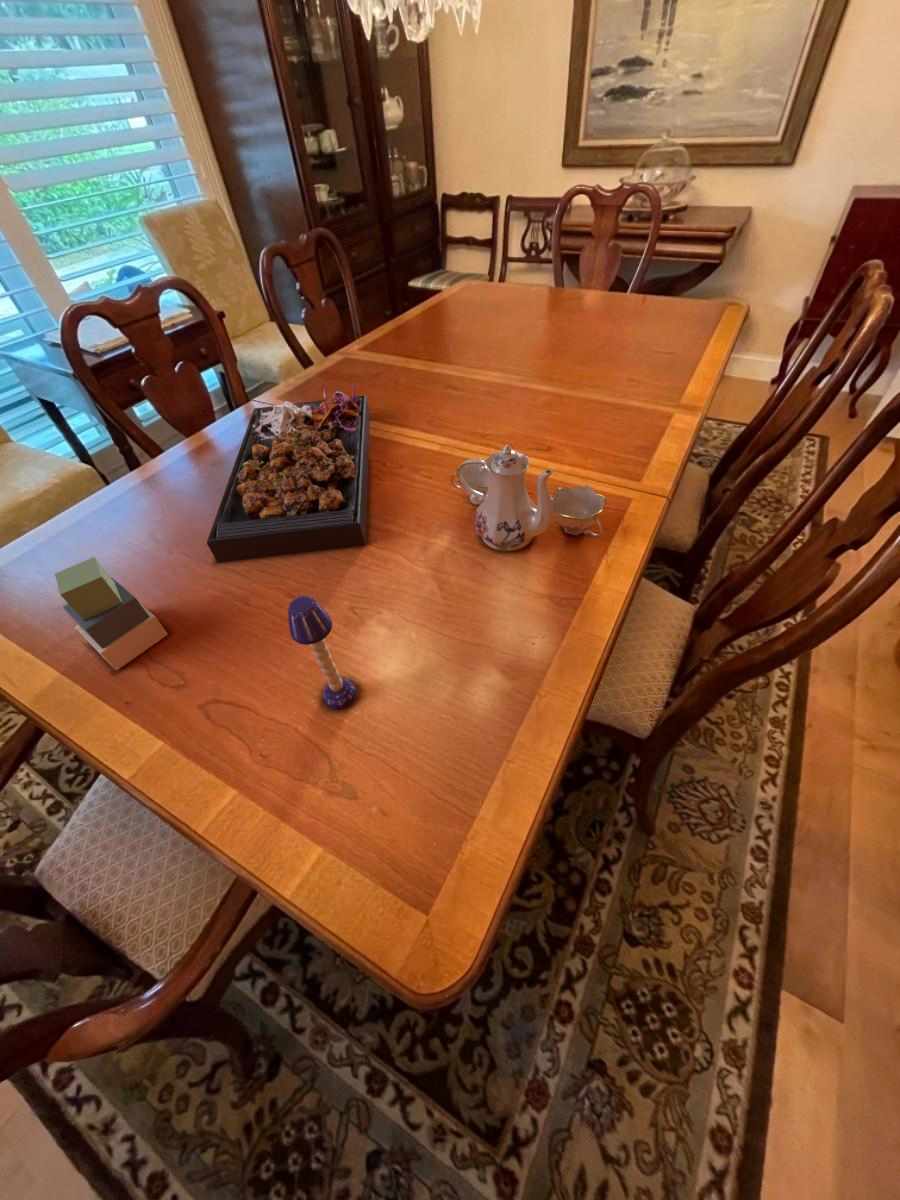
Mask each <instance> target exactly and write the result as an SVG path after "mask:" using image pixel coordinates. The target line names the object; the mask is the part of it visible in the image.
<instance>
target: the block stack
mask: <svg viewBox="0 0 900 1200" xmlns="http://www.w3.org/2000/svg"><path fill="white" fill-rule="evenodd" d="M110 577H111V576H110ZM111 579H112V580H113V581H114V583H115V585H116V588H117V590H118V593H119V595H120V598H121V600H122V603H121V604H119V605H117V606H115V607H113V608H111V609H108V610H106V611H104V612H102V613H100V614H98V615H95V616H93V617H91V618H89V619H87V620H84V621H83V620H82V619H81V618H80V617H79V616H78V614H77V613H76V612H75V611H74V610H73V609H72V608H71V606H70V605H69V604H68V603H66V604H65V605H63V606H62V609H64V610H65V612H66V613H67V614H68V615H69V617H70V618H72V619H73V621H74V622H75V623H76V624H77V625H75V626H74V628H75V629H76V630H77V632H79V633H80V635H81V636H82V637H83V638H84V639H85V640H86V642H87V643H89V645H90V646H91V647H93V649H94V650H95V651H96V652H97V653H98V654H99V655H100V656H101V657H102V658H103V659H104V660H105V661H106V662H107V663H108V664H109V665H110V666H111V667H112V668H113V669H114V670H115V671H118V670H120V669H121V668H122V667H124V666H125V665H127V664H128V663H130V662H132V661H133V660H134V659H135V658H137V657H138V656H139V655H141V654H143V653H144V652H146V651H147V650H148V649H150V648H151V647H152V646H154V645H156V644H157V643H158V642H159V641H161V640H162V639H164V638H165V637H167V636H168V632H167V630H165V628H164V626H163V625H162V624H161V622H160V621H159V619H158V618H157V617H156V616H155V615H154V614H153V613H152V612H151V611H150V610H149V609H147V608H146V607H145V606H143V604H141V603H140V601H139V600H138V598H137V597H136V596H135V595H133V594H132V593H131V592H130V591H129V590H128V589H126V588H125V587H124V586H123V585H122V584H121V583H119V582H118V581H117V580H116V579H115V578H113V577H111Z"/></svg>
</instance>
